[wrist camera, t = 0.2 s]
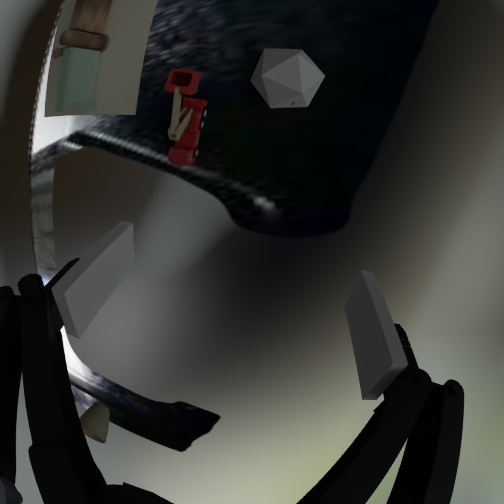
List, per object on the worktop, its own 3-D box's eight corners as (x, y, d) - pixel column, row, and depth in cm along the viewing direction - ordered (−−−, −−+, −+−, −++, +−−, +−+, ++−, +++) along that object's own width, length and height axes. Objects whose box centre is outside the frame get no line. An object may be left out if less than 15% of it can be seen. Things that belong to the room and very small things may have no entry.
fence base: (116, -24, 23) (84, -40, 14) (127, -27, 23) (96, -44, 14) (95, 51, 31) (57, 46, 22) (106, 49, 31) (68, 43, 22)
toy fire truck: (175, 159, 40) (149, 175, 32) (194, 74, 33) (169, 67, 25) (195, 164, 40) (173, 181, 32) (215, 77, 33) (196, 70, 25)
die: (244, 91, 35) (264, 125, 30) (246, 38, 27) (271, 60, 23) (296, 89, 36) (325, 122, 32) (305, 39, 29) (340, 64, 24)
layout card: (69, -10, 22) (68, -10, 22) (168, -34, 23) (167, -35, 22) (45, 116, 37) (44, 117, 36) (135, 114, 37) (134, 114, 36)
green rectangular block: (94, 52, 30) (62, 49, 23) (102, 51, 30) (71, 46, 23) (87, 106, 35) (54, 112, 28) (95, 106, 35) (62, 111, 28)
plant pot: (84, 393, 89) (70, 421, 76) (114, 407, 90) (101, 437, 76) (91, 406, 97) (78, 432, 83) (118, 419, 98) (107, 446, 84)
